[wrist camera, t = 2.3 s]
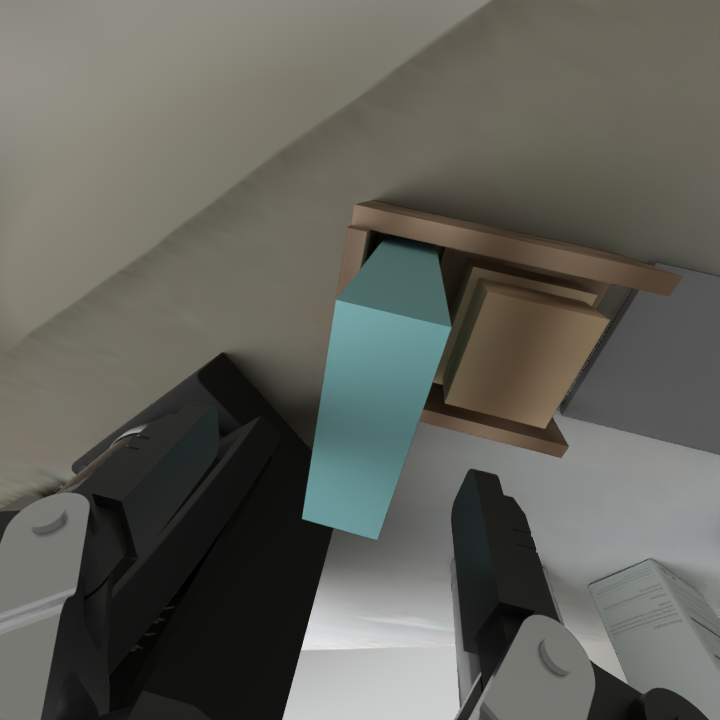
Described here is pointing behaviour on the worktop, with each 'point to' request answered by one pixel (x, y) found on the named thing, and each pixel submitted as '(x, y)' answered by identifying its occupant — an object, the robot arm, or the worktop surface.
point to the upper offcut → (519, 352)
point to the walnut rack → (502, 249)
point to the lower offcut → (509, 276)
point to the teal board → (376, 384)
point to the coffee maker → (219, 564)
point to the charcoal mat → (659, 366)
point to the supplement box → (662, 633)
